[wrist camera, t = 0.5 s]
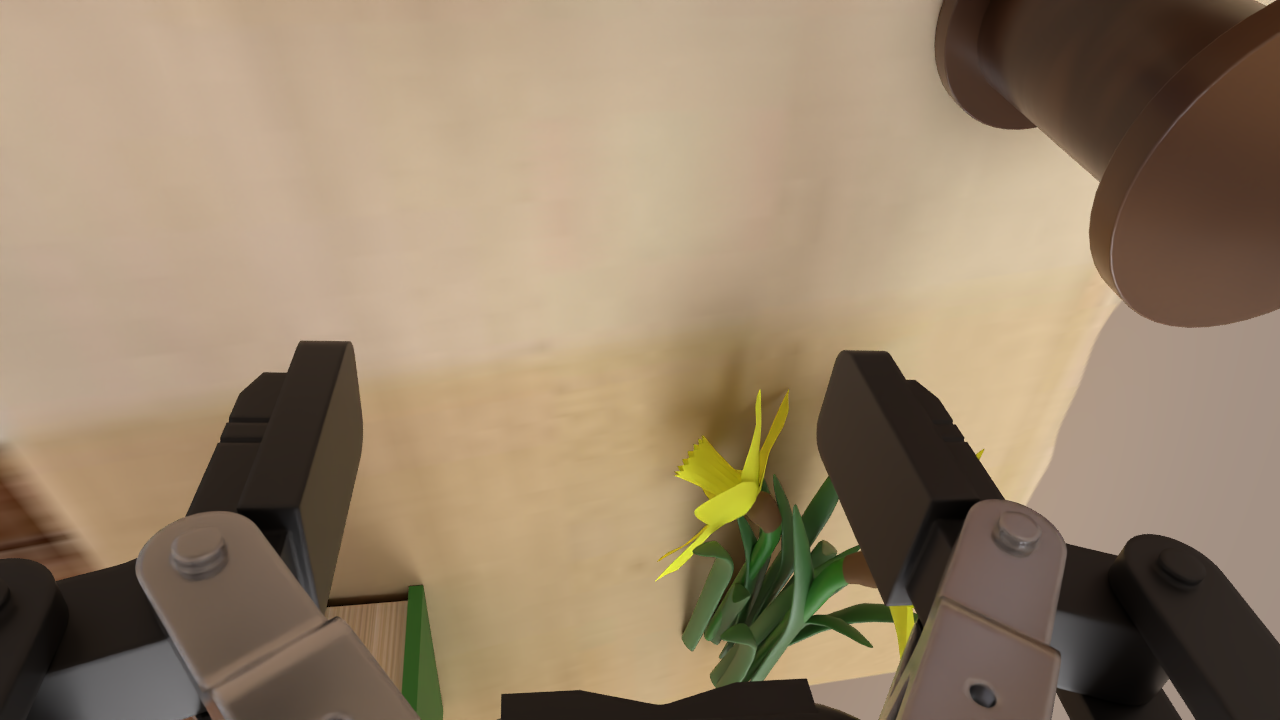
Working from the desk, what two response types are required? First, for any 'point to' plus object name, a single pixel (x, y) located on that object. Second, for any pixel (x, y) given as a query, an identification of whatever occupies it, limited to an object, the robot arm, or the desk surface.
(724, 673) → the daffodil flowers
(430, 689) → the hardback book
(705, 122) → the desk surface
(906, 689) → the robot arm
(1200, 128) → the stand
